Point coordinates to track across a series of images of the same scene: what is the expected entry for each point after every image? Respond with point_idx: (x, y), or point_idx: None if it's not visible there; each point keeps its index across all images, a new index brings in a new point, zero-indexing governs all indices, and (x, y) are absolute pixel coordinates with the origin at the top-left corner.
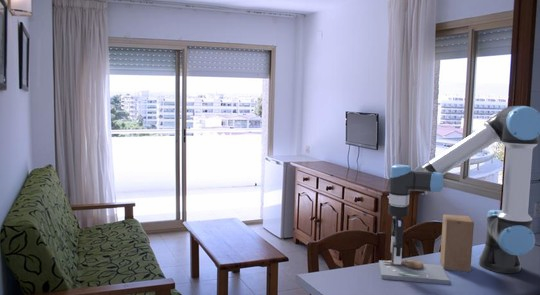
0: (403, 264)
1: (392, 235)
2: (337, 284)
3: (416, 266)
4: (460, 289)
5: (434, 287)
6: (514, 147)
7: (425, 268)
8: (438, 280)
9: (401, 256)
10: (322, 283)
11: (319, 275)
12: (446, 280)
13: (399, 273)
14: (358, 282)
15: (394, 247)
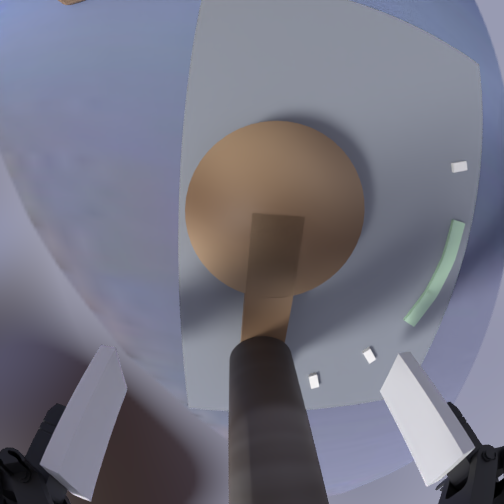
0: (288, 303)
1: (64, 496)
2: (401, 451)
3: (363, 210)
4: (491, 57)
5: (497, 164)
6: None
7: (318, 114)
8: (478, 118)
9: (438, 393)
10: (387, 468)
11: (337, 483)
12: (479, 78)
13: (409, 328)
14: None
15: (427, 479)
